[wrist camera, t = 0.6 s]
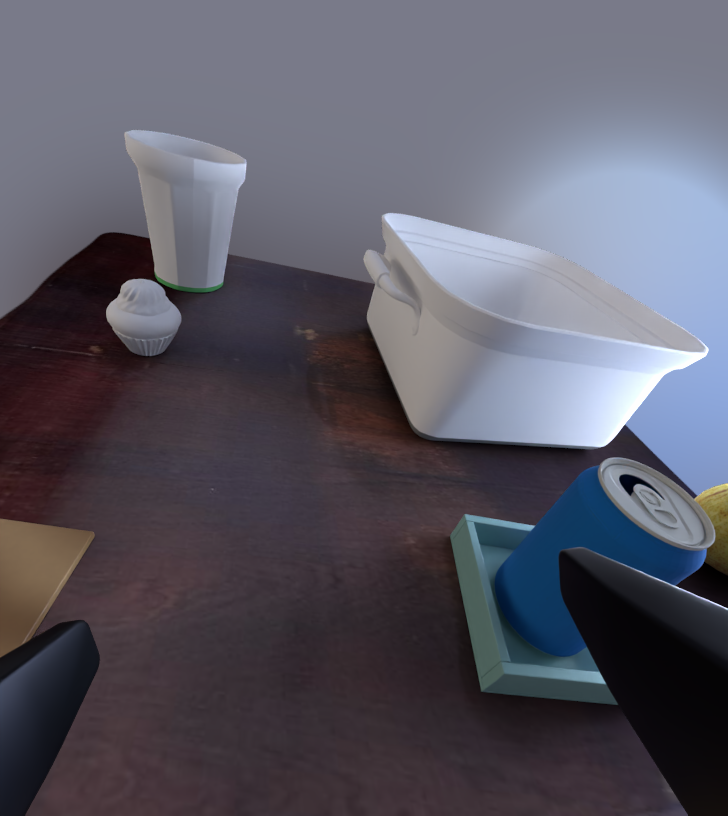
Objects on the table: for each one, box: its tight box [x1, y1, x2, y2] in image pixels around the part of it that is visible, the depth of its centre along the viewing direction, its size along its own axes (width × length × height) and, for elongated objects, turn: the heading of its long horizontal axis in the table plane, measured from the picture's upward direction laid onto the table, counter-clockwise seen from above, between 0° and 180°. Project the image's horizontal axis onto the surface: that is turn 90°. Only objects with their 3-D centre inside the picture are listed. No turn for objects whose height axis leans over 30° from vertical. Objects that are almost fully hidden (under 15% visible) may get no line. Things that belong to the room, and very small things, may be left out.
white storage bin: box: [364, 213, 708, 449], centre depth 46 cm, size 34×29×15 cm
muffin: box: [106, 279, 181, 356], centre depth 37 cm, size 6×6×7 cm
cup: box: [125, 130, 247, 292], centre depth 48 cm, size 12×12×15 cm
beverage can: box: [494, 458, 715, 657], centre depth 23 cm, size 6×6×12 cm
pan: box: [450, 514, 618, 705], centre depth 26 cm, size 10×10×3 cm
